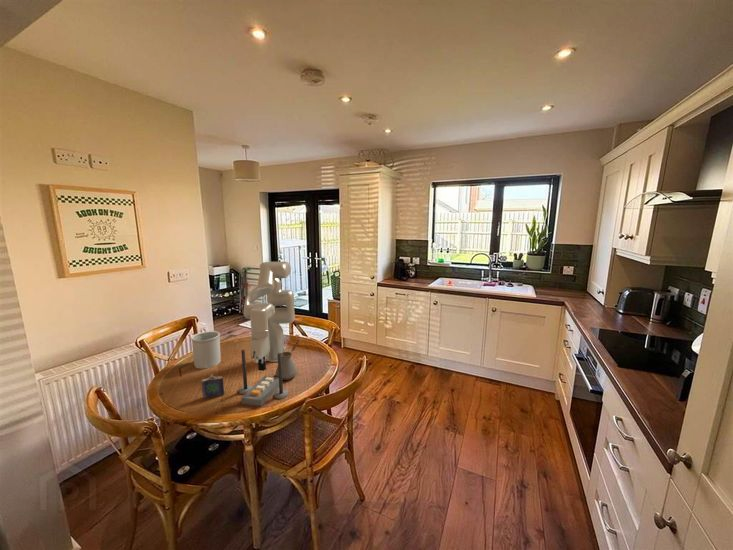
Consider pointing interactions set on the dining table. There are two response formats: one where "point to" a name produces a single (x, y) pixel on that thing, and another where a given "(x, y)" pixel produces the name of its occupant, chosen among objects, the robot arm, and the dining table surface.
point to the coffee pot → (287, 365)
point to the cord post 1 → (244, 376)
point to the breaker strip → (261, 391)
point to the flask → (212, 387)
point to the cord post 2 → (280, 382)
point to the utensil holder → (206, 349)
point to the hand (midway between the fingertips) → (262, 369)
